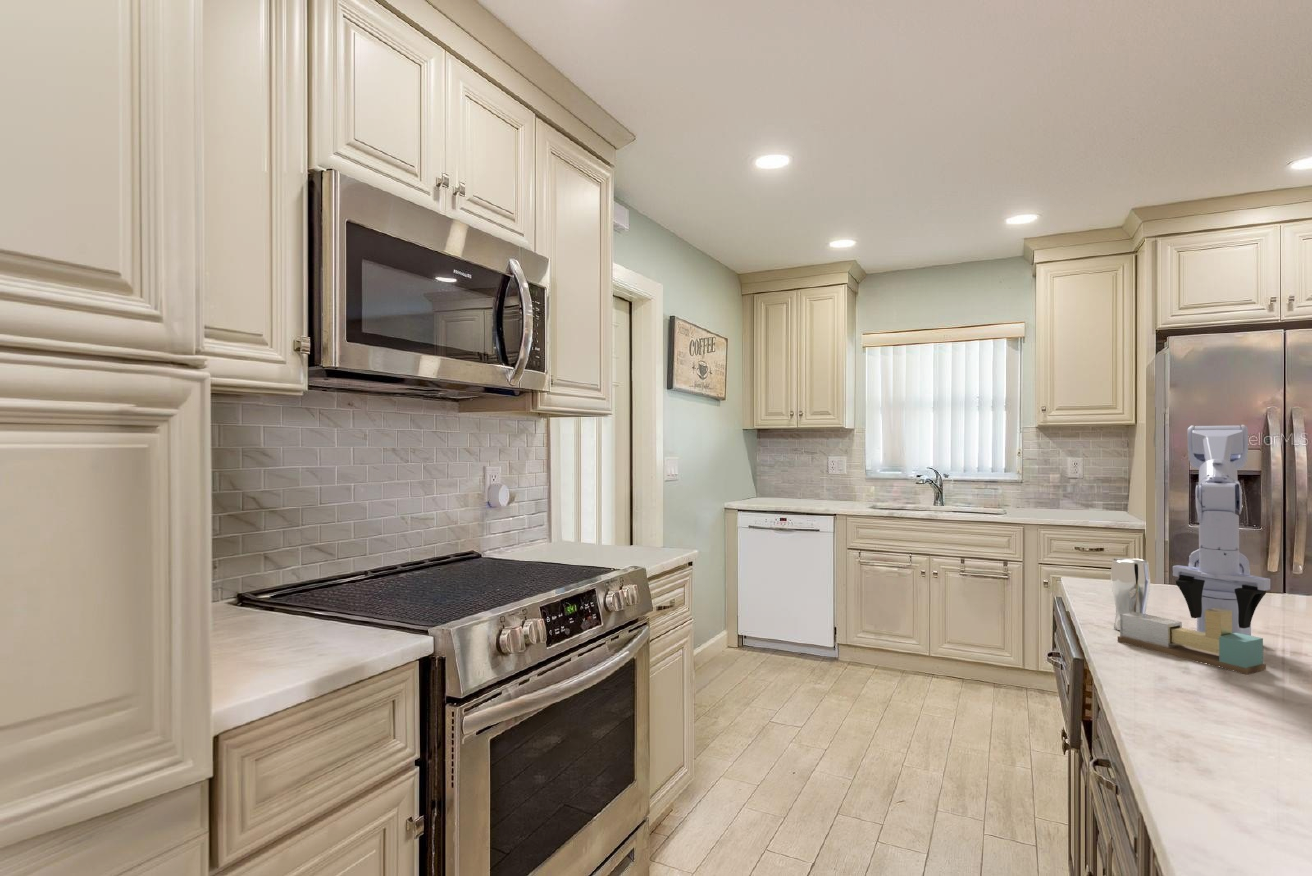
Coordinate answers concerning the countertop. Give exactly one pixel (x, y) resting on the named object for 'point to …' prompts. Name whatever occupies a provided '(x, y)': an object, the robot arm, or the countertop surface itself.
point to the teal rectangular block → (1241, 650)
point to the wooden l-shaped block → (1215, 626)
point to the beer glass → (1129, 586)
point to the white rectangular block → (1147, 628)
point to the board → (1193, 655)
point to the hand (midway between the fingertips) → (1219, 622)
